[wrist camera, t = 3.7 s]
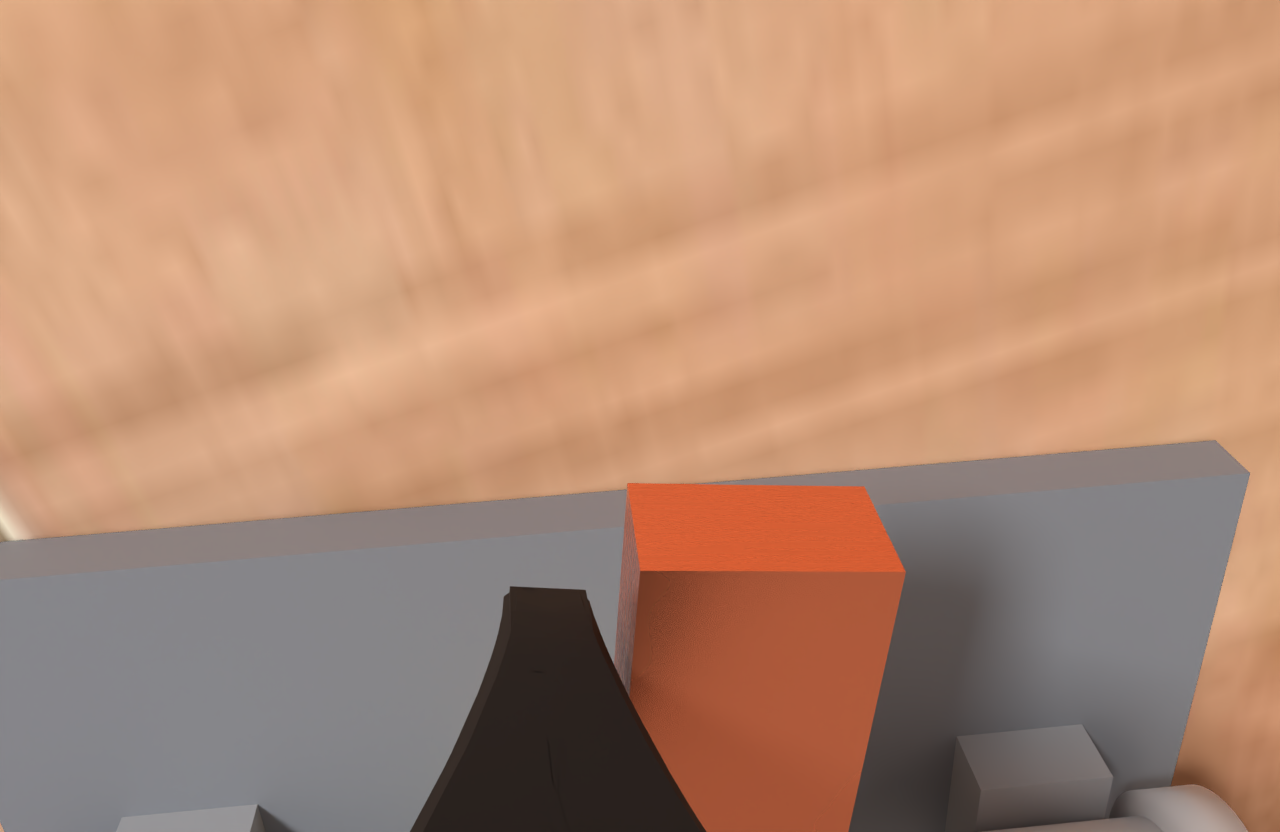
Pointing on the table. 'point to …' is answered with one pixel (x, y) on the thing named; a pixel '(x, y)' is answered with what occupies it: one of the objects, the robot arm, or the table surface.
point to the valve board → (591, 560)
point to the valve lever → (757, 645)
